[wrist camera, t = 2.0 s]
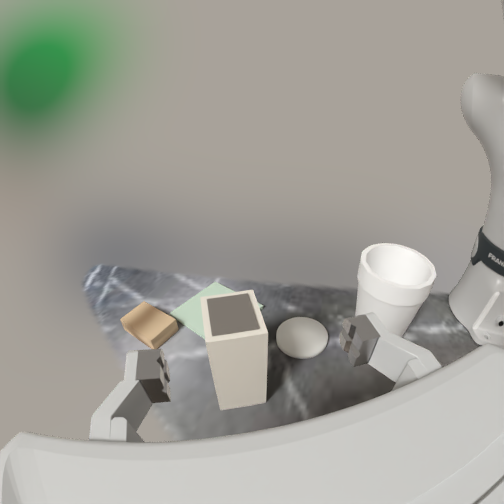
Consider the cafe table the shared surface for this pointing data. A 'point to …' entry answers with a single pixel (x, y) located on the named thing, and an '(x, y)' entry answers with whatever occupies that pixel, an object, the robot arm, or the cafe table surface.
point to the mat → (198, 308)
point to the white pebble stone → (301, 337)
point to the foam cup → (393, 284)
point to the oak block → (149, 325)
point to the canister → (236, 348)
